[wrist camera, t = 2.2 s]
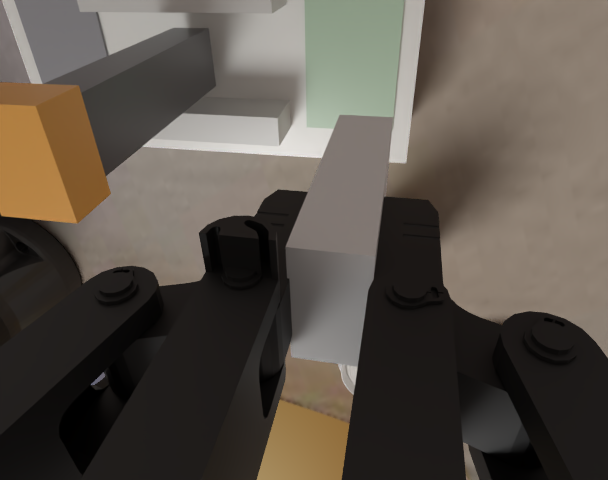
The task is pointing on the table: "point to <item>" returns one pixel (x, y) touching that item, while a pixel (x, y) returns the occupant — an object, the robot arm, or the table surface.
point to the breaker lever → (94, 122)
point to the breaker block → (249, 64)
